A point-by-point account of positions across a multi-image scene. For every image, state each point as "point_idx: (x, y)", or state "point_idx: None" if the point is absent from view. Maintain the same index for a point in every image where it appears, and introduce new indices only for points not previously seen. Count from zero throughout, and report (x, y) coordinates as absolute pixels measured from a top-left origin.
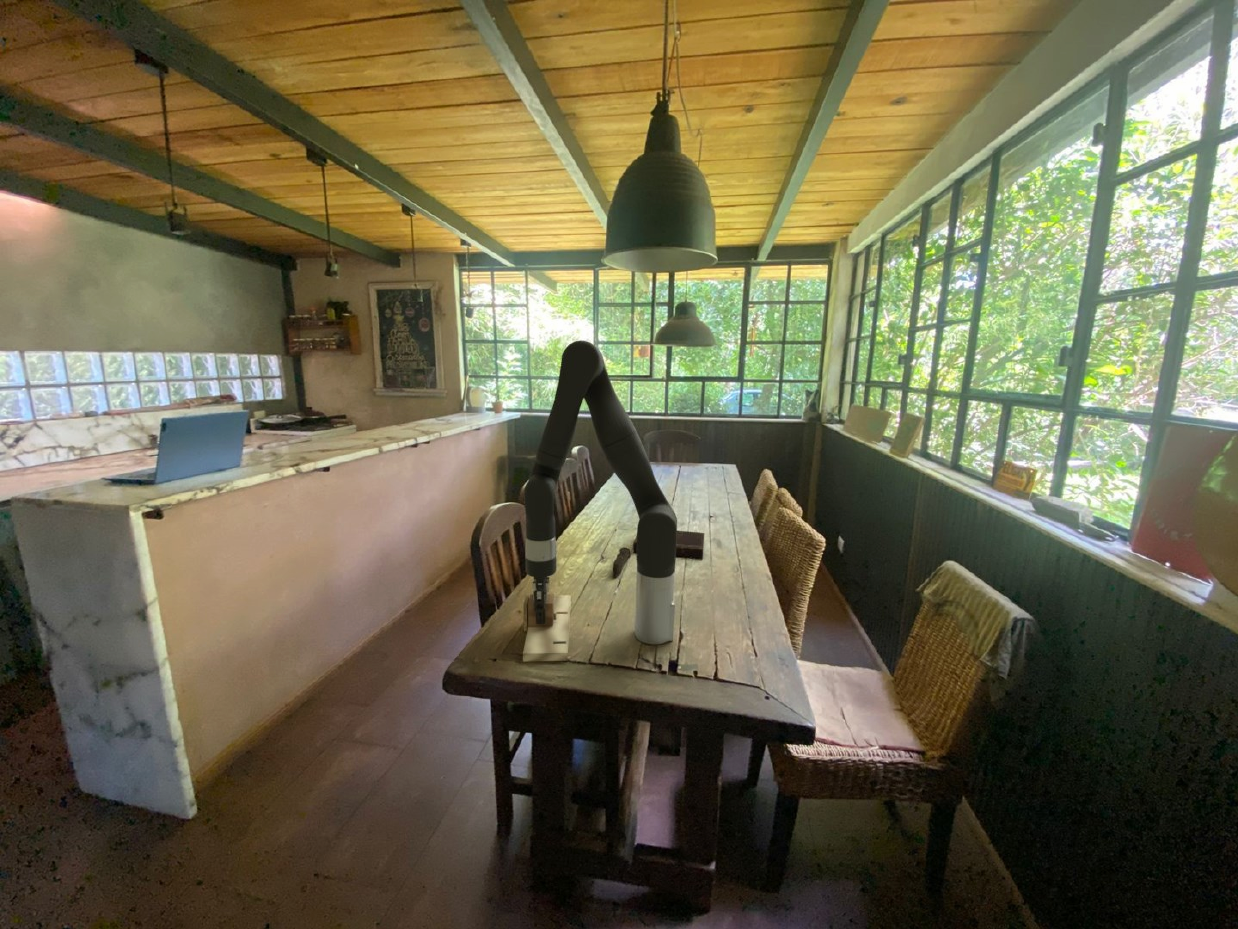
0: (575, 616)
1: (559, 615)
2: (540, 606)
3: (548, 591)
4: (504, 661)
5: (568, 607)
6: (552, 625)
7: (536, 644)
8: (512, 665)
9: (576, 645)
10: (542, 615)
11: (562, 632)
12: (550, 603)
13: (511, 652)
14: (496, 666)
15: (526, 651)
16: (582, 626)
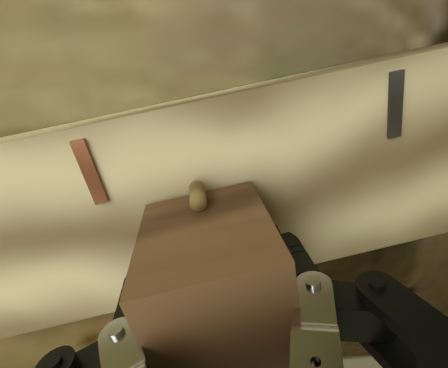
0: (35, 95)
1: (124, 178)
2: (379, 325)
3: (145, 364)
4: (417, 265)
5: (7, 152)
6: (251, 183)
7: (399, 203)
8: (442, 236)
9: (326, 23)
10: (312, 263)
11: (297, 115)
12: (296, 277)
13: (370, 265)
14: (440, 275)
15: (443, 223)
16: (134, 26)
